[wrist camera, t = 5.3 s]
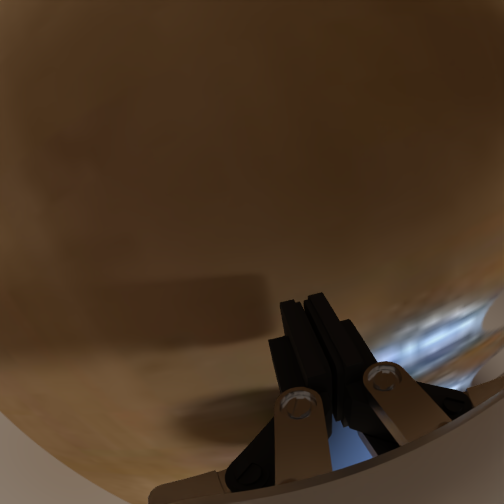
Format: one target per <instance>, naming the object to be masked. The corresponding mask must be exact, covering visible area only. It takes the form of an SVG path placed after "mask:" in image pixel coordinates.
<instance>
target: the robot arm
mask: <svg viewBox="0 0 504 504" xmlns="http://www.w3.org/2000/svg"><path fill="white" fill-rule="evenodd" d="M280 309H281V315H282V321H283V327H284V333H285V336H283V337H279V338H275V339H270V340H268V342H269V347H270V351H271V356H272V360H273V365H274V369H275V373H276V377H277V381H278V385H279V389H280V393H281V395H279V396H278V398H277V400H276V401H275V405H274V417H273V418H272V419H271V420H270V422H269V423H268V424H267V425H266V426H265V427H264V429H263V430H262V431H261V432H260V433H259V434H258V435H257V436H256V437H255V439H254V440H253V441H252V442H251V443H250V444H249V445H248V446H247V447H246V448H245V449H244V451H243V452H242V453H241V454H240V455H239V456H238V457H237V458H236V459H235V460H234V461H233V462H232V463H231V464H230V466H229V467H228V468H227V469H225V470H222V471H219V472H216V471H215V470H214V471H211V472H207V473H204V474H201V475H197V476H194V477H190V478H186V479H182V480H178V481H174V482H170V483H166V484H162V485H159V486H157V487H155V488H154V489H153V490H152V491H151V492H150V495H149V497H148V504H504V376H502V377H500V378H497V379H494V380H491V381H489V382H486V383H483V384H480V385H477V386H474V387H470V388H467V389H466V391H465V392H461V391H458V390H454V389H449V388H444V387H439V386H435V385H430V384H426V383H421V382H417V381H415V380H414V379H413V378H412V377H411V376H410V375H409V374H408V373H407V372H406V371H405V370H404V369H403V368H402V367H401V366H400V365H398V364H396V363H393V362H387V361H384V362H377V361H376V359H375V357H374V356H373V354H372V353H371V351H370V350H369V348H368V346H367V345H366V343H365V342H364V340H363V338H362V337H361V335H360V334H359V332H358V331H357V329H356V328H355V326H354V324H353V323H352V322H351V320H349V319H347V320H344V321H339V319H338V317H337V316H336V314H335V312H334V311H333V309H332V307H331V306H330V304H329V302H328V301H327V299H326V297H325V296H324V294H323V293H322V292H321V293H317V294H313V295H309V296H308V300H305V301H304V309H303V307H302V305H301V303H300V302H296V303H295V301H294V300H289V301H285V302H280ZM332 414H333V416H334V419H335V421H336V422H337V421H340V420H341V423H342V425H343V428H344V427H347V426H349V428H350V429H353V430H356V431H357V433H358V435H359V437H360V439H361V440H362V442H363V443H364V445H365V446H366V448H367V450H368V451H369V453H370V454H371V456H372V457H373V458H371V459H368V460H366V461H363V462H360V463H357V464H354V465H351V466H348V467H345V468H342V469H339V470H336V471H332V463H331V456H330V449H329V442H328V439H329V438H330V436H331V435H332Z"/></svg>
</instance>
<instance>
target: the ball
mask: <svg viewBox="0 0 504 504" xmlns="http://www.w3.org/2000/svg"><path fill="white" fill-rule="evenodd" d="M328 442H329V449H330V456H331V463H332V471H336V470H339V469H342V468H345V467H348V466H351V465H354V464H357V463H360V462H363V461H366V460H368V459H371V458H373V457H372V456H371V454H370V453H369V451H368V450H367V448H366V446H365V445H364V443H363V442H362V440H361V439H360V437H359V435H358V433H357V431H356V430H353V429H350V428H349V426H347V427H344V428H343V425H342V423H341V420H340V421H337V422H336V421H335V419H334V416H333V414H332V435H331V436H330V438H329V439H328Z"/></svg>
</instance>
